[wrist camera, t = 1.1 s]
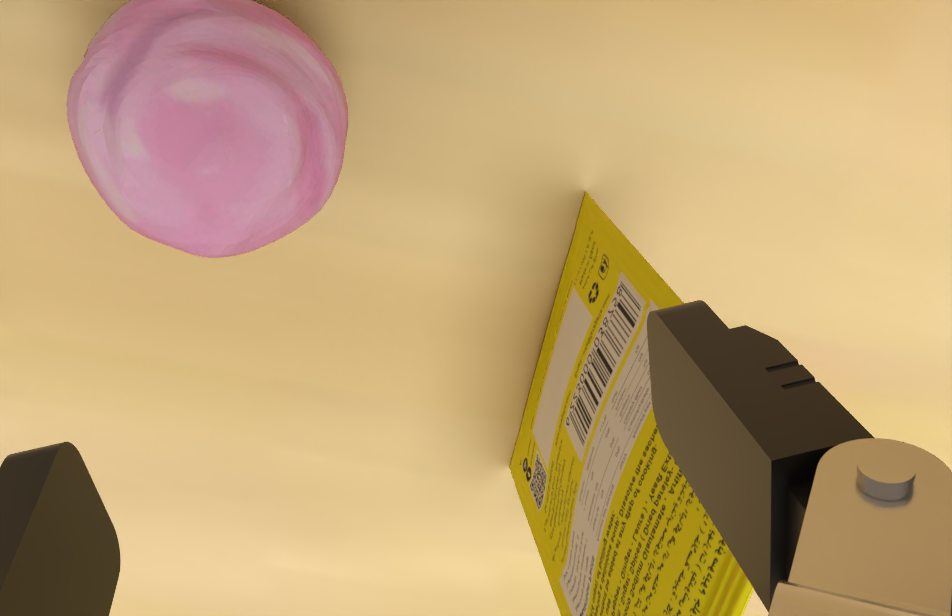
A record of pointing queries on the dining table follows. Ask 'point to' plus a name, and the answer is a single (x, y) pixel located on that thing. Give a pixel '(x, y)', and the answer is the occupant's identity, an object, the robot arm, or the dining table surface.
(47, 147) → the dining table surface
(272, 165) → the cupcake
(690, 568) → the food package
